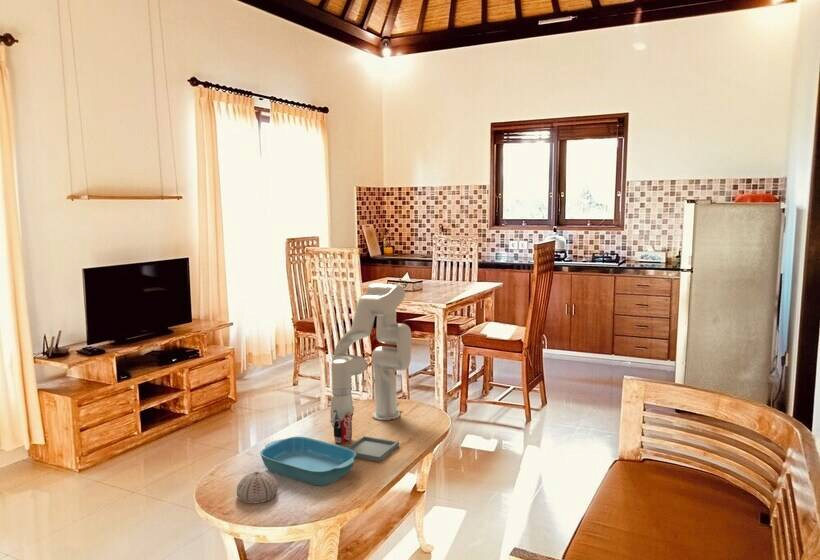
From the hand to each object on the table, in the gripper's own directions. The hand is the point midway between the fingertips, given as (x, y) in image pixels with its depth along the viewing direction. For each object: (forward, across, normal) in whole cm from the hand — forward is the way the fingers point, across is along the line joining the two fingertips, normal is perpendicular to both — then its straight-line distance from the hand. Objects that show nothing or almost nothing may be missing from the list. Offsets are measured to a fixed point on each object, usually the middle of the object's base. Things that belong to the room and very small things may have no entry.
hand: (343, 433), depth 238 cm
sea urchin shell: (+4, +51, -1) cm, 51 cm away
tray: (+3, +4, +15) cm, 16 cm away
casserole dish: (+4, +28, +3) cm, 28 cm away
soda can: (+3, 0, 0) cm, 3 cm away
